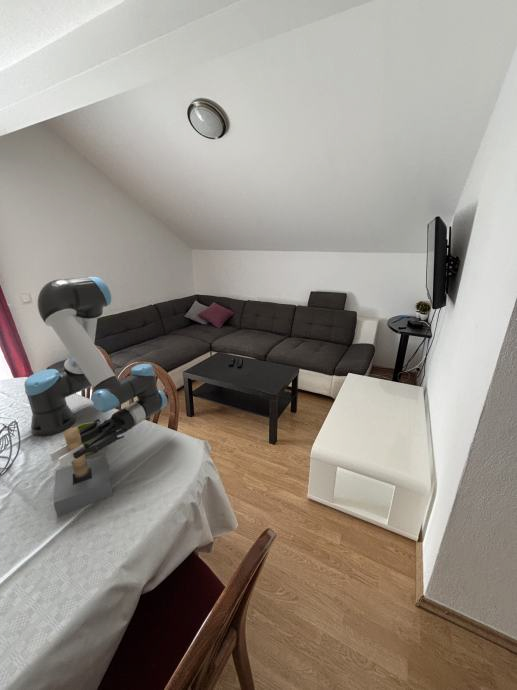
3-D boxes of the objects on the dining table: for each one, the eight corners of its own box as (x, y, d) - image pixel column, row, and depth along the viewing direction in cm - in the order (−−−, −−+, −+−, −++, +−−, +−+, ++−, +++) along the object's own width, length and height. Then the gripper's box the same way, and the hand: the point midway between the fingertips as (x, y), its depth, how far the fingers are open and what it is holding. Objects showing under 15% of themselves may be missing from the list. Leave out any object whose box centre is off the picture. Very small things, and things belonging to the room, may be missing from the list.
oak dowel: (75, 471, 86) (63, 430, 81) (88, 466, 88) (78, 426, 83) (75, 479, 84) (63, 436, 79) (89, 474, 85) (78, 432, 80)
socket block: (59, 482, 90) (55, 470, 89) (108, 466, 97) (105, 454, 96) (57, 516, 79) (53, 502, 77) (112, 494, 86) (110, 482, 84)
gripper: (146, 433, 95) (76, 481, 76) (114, 420, 103) (43, 460, 83) (143, 414, 93) (70, 459, 73) (110, 402, 100) (36, 439, 81)
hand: (56, 460), depth 78 cm, fingers closed on oak dowel, 3 cm apart
